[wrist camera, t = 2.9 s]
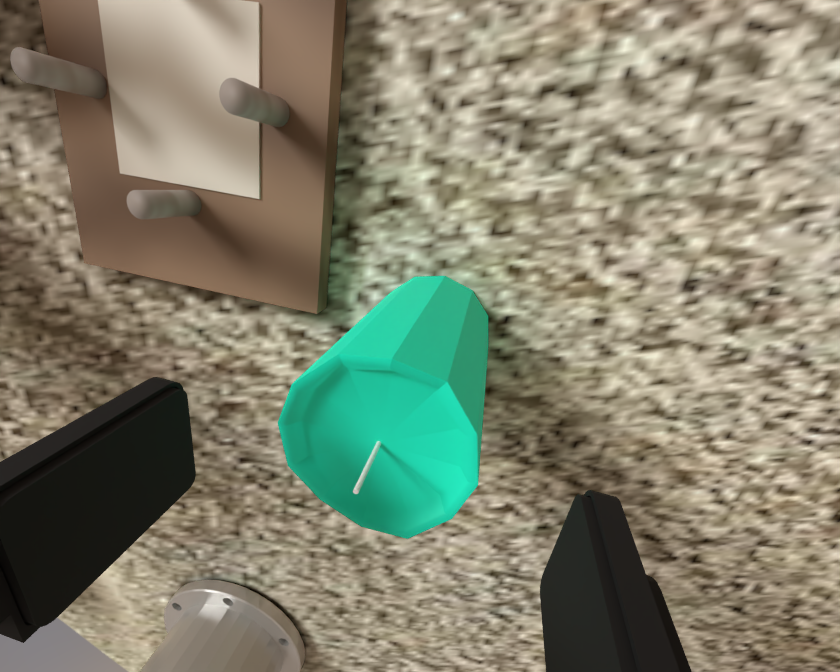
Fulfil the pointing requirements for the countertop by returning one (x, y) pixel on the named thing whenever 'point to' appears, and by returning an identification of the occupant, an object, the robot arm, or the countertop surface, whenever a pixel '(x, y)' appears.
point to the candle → (395, 410)
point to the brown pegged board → (200, 137)
